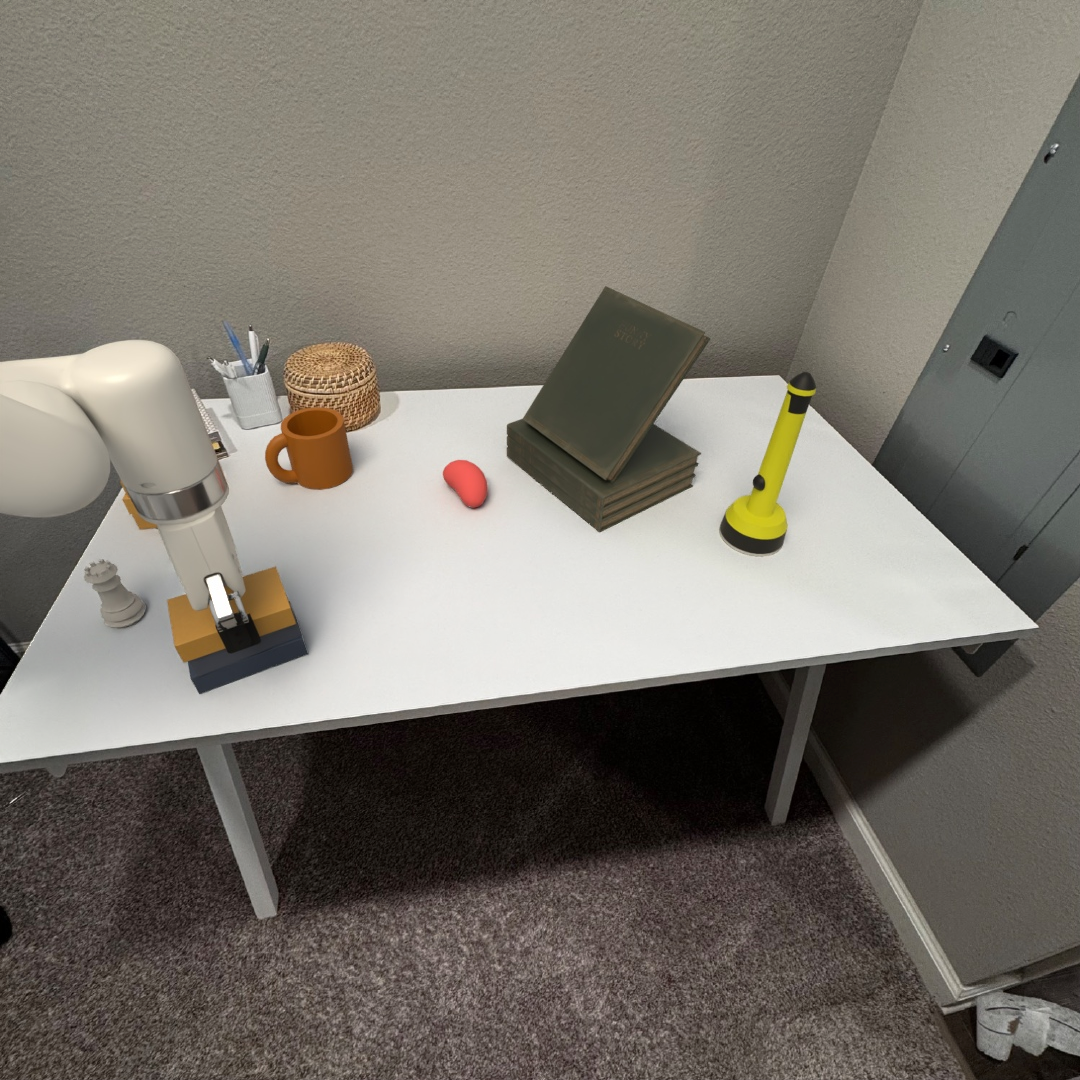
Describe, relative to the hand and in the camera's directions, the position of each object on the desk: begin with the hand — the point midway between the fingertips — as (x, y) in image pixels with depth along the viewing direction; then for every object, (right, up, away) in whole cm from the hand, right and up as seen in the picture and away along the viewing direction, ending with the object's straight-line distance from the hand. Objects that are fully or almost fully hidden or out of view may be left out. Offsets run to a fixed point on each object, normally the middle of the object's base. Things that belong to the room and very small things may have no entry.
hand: (236, 614), depth 66 cm
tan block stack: (-20, +13, +24) cm, 34 cm away
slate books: (0, -5, +4) cm, 6 cm away
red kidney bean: (+21, +15, +28) cm, 38 cm away
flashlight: (+62, +8, +23) cm, 67 cm away
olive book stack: (+42, +19, +33) cm, 56 cm away
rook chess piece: (-17, -1, +8) cm, 18 cm away
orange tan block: (0, -1, 0) cm, 1 cm away
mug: (-3, +18, +30) cm, 35 cm away
